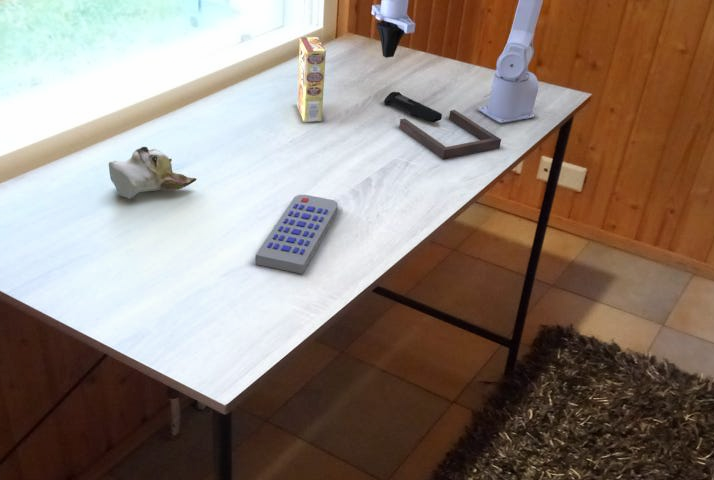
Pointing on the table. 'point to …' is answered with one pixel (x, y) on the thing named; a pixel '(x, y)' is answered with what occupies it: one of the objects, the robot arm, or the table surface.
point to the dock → (485, 144)
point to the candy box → (311, 78)
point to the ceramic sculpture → (145, 173)
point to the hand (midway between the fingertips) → (388, 56)
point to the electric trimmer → (412, 107)
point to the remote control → (297, 234)
